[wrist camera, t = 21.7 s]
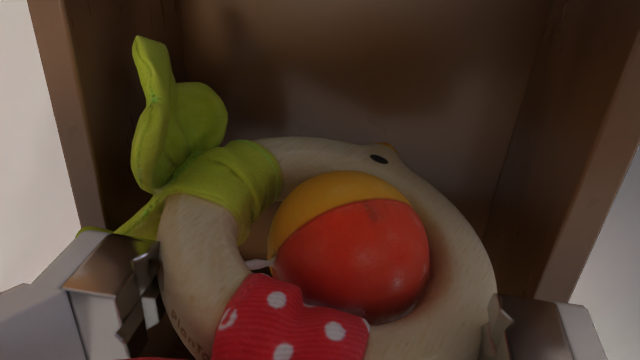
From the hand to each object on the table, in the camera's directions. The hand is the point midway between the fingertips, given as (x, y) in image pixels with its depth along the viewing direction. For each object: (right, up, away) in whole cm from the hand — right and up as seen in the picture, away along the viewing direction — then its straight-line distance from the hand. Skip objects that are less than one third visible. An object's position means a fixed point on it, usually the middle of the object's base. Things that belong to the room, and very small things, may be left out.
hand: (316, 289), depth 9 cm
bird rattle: (-1, +3, +5) cm, 6 cm away
